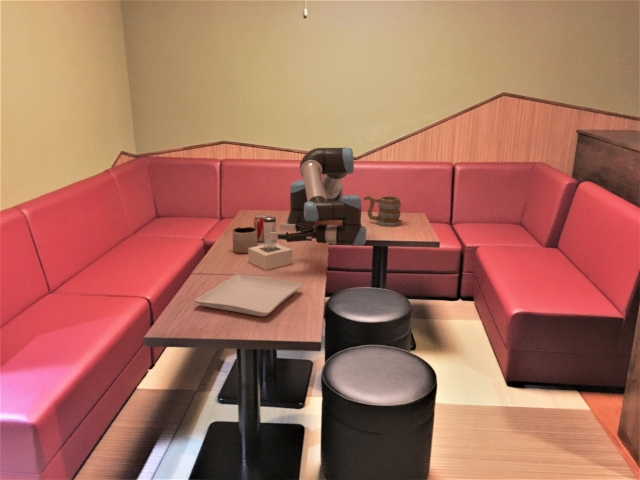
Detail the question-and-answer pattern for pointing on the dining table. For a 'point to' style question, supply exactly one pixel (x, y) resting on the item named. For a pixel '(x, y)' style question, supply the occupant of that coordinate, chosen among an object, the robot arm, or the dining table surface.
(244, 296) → the square plate
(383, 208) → the tankard
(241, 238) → the planter
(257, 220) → the soda can
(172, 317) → the dining table surface
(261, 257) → the socket block
